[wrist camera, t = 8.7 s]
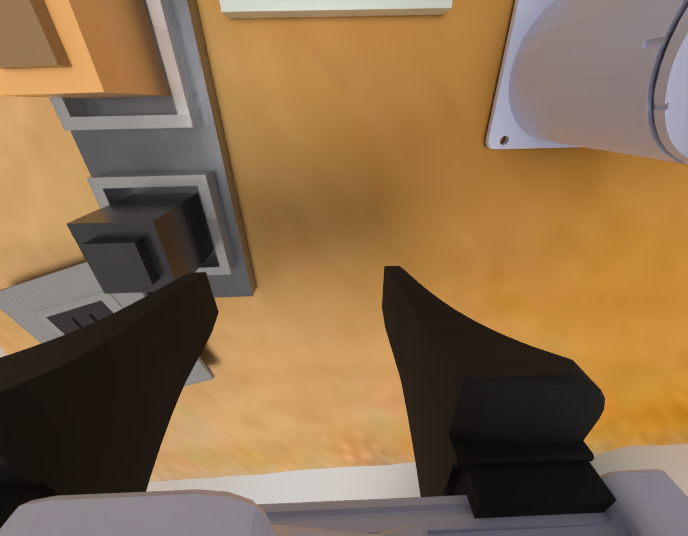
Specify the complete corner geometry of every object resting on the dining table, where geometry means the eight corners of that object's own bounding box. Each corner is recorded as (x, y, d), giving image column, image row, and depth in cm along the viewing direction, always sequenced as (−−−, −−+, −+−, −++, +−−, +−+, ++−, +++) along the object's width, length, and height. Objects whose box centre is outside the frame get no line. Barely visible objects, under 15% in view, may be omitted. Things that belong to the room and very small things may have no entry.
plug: (141, -6, 13) (26, -72, 8) (170, 95, 15) (92, 91, 10) (53, -4, 13) (-115, -68, 8) (94, 98, 15) (-20, 95, 10)
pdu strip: (-35, -154, 12) (-420, -425, 6) (163, -156, 12) (-12, -422, 6) (156, 290, 23) (93, 356, 17) (256, 287, 23) (229, 351, 17)
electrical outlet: (221, 360, 27) (212, 381, 25) (127, 384, 28) (110, 407, 26) (129, 241, 21) (106, 256, 18) (13, 280, 22) (-20, 298, 20)
